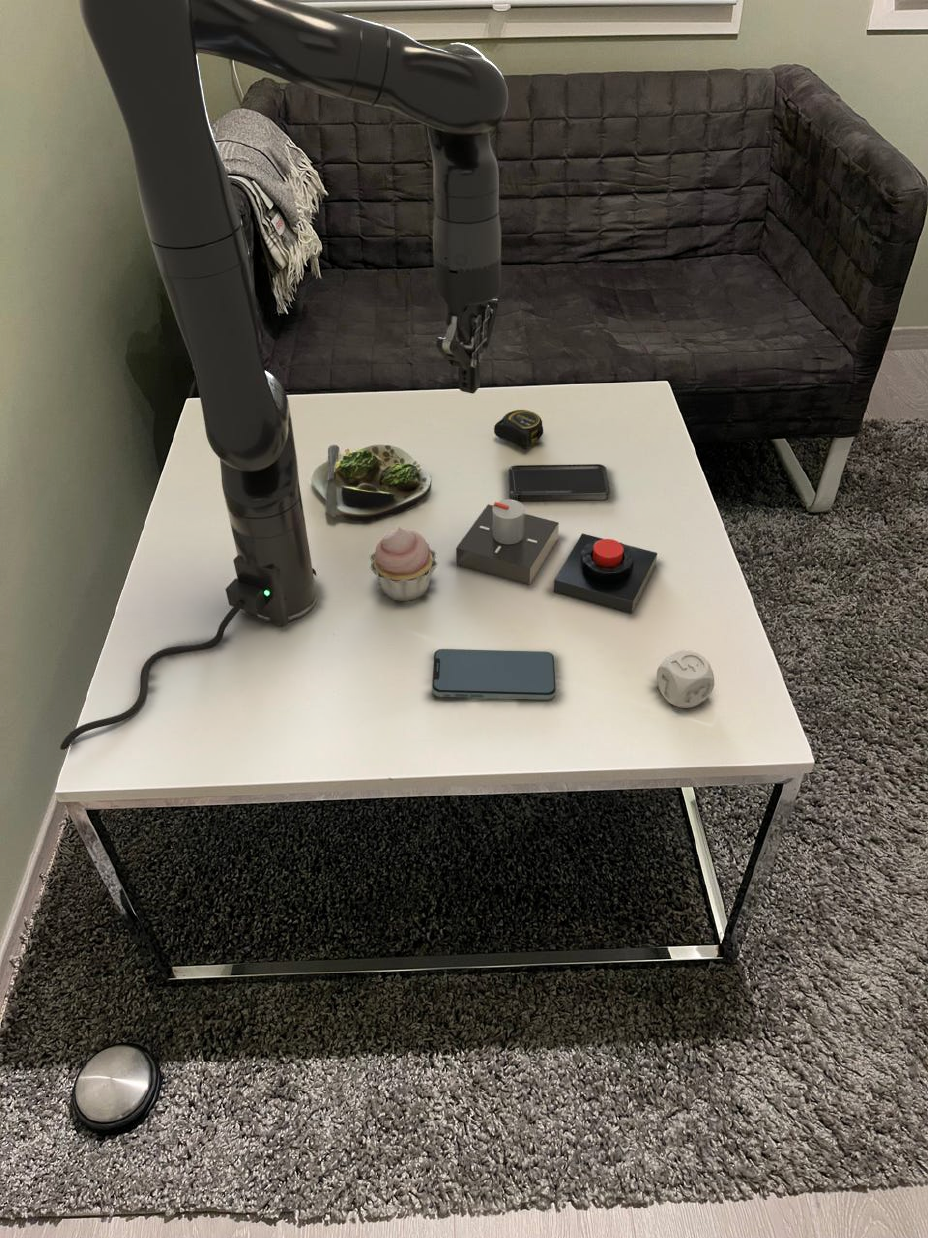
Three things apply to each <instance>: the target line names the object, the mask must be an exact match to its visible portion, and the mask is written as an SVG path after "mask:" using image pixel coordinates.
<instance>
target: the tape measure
mask: <svg viewBox="0 0 928 1238" xmlns="http://www.w3.org/2000/svg"><path fill="white" fill-rule="evenodd" d="M493 433H494V435H495V436H496V437H497V438H499V439H501V440H504V441H506V442H508V443H511V444H513V445H515V446H517V447H518V448H520V449H522V450H529V448H530V447H531V446H532V445H534V444H537V442H539V441H540V439H541V437H542V436H543V435H544V426H543V420H542V417H541V416H540V415H539V414H538V413H536V412H534V411H531V410H527V409H516V410H512V411H510V412H507V413H506V414H505V415H504V416H503V417H502V418H501V419H500V420H499V421H497V422H496V423H495V424H494V426H493Z"/></svg>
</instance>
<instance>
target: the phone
mask: <svg viewBox="0 0 928 1238" xmlns="http://www.w3.org/2000/svg"><path fill="white" fill-rule="evenodd" d="M609 483H610V481H609V475H608V470H607V467H606V466H605V465H604V464H600V463H592V464H591V463H590V464H589V463H588V464H587V463H586V464H585V463H583V464H581V463H580V464H527V465H526V464H517V465H515V464H514V465H512V466H509V468H508V489H509V499H510V500H516V501H518V502H554V501H555V502H559V501H562V502H563V501H567V502H568V501H605V500H608V499H609V498H610V491H611V488H610V484H609Z"/></svg>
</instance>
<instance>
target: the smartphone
mask: <svg viewBox="0 0 928 1238" xmlns="http://www.w3.org/2000/svg"><path fill="white" fill-rule="evenodd" d="M554 658H555V657H554V655H553V653H551V652H550V651H536V650H535V651H534V650H533V651H531V650H501V649H496V650H495V649H464V648H463V649H461V648H457V649H456V648H438V649H437V650H436V651H435V652H434V653H433V668H432V669H433V672H432V685H431V686H432V687H431V689H432V694H433V695H434V696H436V697H440V698H473V699H474V698H475V699H512V700H514V699H515V700H544V701H545V700H547V701H548V700H552V699H554V698H555V696H556V691H557V686H556V674H555V672H556V671H555V659H554Z"/></svg>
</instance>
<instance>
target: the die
mask: <svg viewBox="0 0 928 1238" xmlns="http://www.w3.org/2000/svg"><path fill="white" fill-rule="evenodd" d="M656 682H657V686H658V689H659V691H660V693H661V695H662V697H663V698H664V699H665V700H666V701H667V703H669V704H671V705H673V706H675V707H679V708H683V709H684V708H685V709H686V708H693V707H696V706H698V705H700V704H702V703H703V702H704V701H706V700H707V698H708V697H709V696H710V695H711V694H712V692H713V691H714V688H715V675H714V671H713V668H712V666H711V664H710V663H709V661H708V660H707V658H706V657H705V656H703V655H702V654H701V653H698V652H697V651H693V650H687V649H685V650H684V649H683V650H677V651H674V652H672V653H671V654H669V655H668V656H666V657H665V658H664V659H663V660H662V661H661V662H660V664H659V665H658V668H657V670H656Z"/></svg>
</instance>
